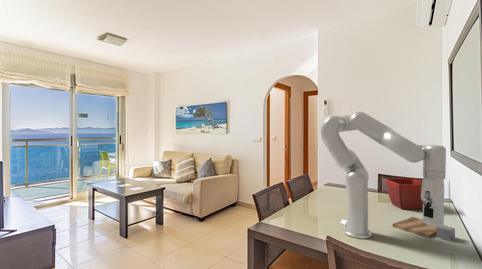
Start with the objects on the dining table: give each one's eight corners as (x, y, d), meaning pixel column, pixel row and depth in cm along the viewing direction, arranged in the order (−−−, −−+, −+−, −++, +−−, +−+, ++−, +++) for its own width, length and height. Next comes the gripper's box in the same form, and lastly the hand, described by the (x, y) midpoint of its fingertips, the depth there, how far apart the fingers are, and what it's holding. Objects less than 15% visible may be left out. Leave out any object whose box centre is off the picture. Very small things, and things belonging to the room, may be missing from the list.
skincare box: (435, 222, 105) (436, 195, 105) (444, 226, 101) (444, 197, 100) (421, 222, 105) (422, 195, 104) (429, 226, 100) (430, 197, 100)
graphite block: (436, 237, 112) (436, 226, 112) (441, 235, 115) (441, 224, 115) (449, 241, 108) (449, 230, 108) (454, 239, 110) (454, 228, 110)
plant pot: (413, 202, 166) (413, 178, 166) (432, 211, 147) (432, 184, 147) (384, 202, 168) (384, 178, 168) (399, 211, 149) (399, 184, 149)
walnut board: (392, 226, 125) (392, 223, 125) (412, 219, 135) (412, 216, 135) (428, 238, 111) (428, 234, 111) (447, 229, 121) (447, 226, 121)
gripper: (433, 171, 110) (432, 209, 110) (413, 174, 101) (412, 216, 102) (454, 173, 103) (453, 214, 103) (434, 177, 95) (433, 222, 95)
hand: (433, 215), depth 102 cm, fingers closed on skincare box, 7 cm apart
